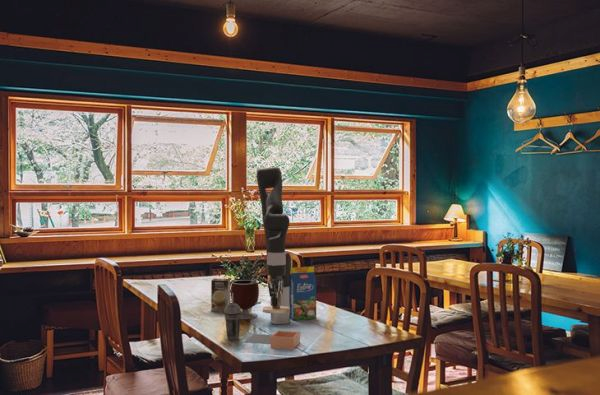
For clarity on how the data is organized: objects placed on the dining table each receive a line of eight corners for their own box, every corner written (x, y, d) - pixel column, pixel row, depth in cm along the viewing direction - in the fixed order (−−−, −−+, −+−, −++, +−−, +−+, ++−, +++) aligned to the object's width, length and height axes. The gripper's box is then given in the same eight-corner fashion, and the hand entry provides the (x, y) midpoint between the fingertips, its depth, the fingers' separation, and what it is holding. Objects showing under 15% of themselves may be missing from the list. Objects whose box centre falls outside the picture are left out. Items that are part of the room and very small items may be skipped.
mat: (254, 335, 257) (254, 333, 257) (285, 337, 254) (285, 335, 254) (243, 343, 244) (243, 342, 244) (275, 345, 240) (275, 344, 240)
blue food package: (316, 318, 289) (316, 267, 289) (293, 320, 285) (293, 268, 284) (311, 316, 295) (311, 265, 294) (288, 318, 291) (288, 267, 290)
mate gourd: (225, 317, 292) (225, 277, 291) (240, 312, 304) (240, 273, 303) (252, 321, 284) (251, 279, 284) (267, 315, 297) (266, 275, 296)
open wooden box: (277, 342, 245) (277, 330, 245) (300, 344, 242) (300, 331, 242) (270, 348, 236) (270, 336, 235) (293, 350, 233) (293, 337, 233)
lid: (267, 307, 248) (267, 290, 248) (293, 309, 245) (293, 291, 245) (258, 312, 237) (258, 294, 237) (284, 314, 234) (285, 296, 234)
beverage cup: (242, 337, 253) (242, 291, 252) (241, 342, 245) (240, 294, 245) (225, 338, 252) (224, 291, 252) (223, 342, 245) (223, 294, 245)
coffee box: (210, 311, 306) (210, 280, 306) (213, 308, 313) (213, 278, 313) (228, 311, 306) (227, 280, 305) (230, 309, 312) (230, 278, 312)
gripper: (273, 261, 249) (273, 302, 249) (261, 264, 235) (261, 308, 235) (290, 261, 247) (290, 303, 247) (279, 265, 233) (279, 309, 233)
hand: (276, 305), depth 241 cm, fingers closed on lid, 3 cm apart
